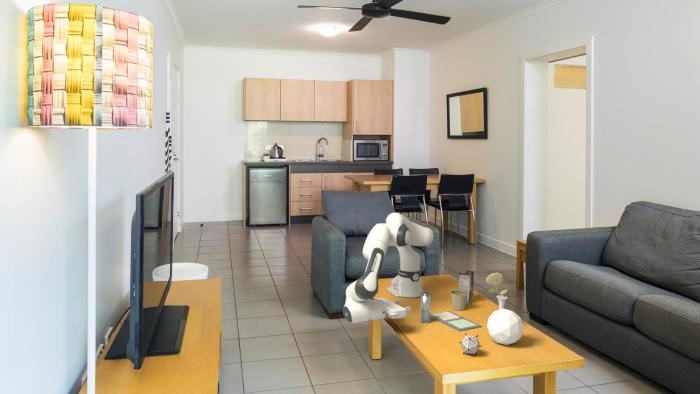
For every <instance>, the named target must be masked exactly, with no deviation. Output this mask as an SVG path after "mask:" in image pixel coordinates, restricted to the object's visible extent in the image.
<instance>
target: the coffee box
mask: <svg viewBox="0 0 700 394" xmlns="http://www.w3.org/2000/svg"><path fill="white" fill-rule="evenodd" d="M474 275H475V271H474V270H468V269H462V270H461V271H460V272H459V273H458V280H457V283H458V286H457V287H458V288H457V290H462V291H466V292H468V295H467V298H466V304H465V305H470V304H471V303H472V302H473V301H474V286H475V285H474V281H475V279H474V278H475V277H474Z"/></svg>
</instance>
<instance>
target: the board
mask: <svg viewBox="0 0 700 394" xmlns="http://www.w3.org/2000/svg"><path fill="white" fill-rule="evenodd" d="M430 318H432V319H434V320H435V321H438V322H440V323H442V324H443V325H446V326H448V327H450V328H452V329H454V330H455V331H458V332H463V331H469V330H473V329H479V328H482V327H483V325H482V324H479V323H477V322H474V321H472V320H470V319H468V318H465V317H464V316H462V315H459V314H458V313H455V312H452V311H450V310H445V311H441V312H440V311H439V312H435V313H431V316H430Z"/></svg>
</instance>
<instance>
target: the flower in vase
mask: <svg viewBox="0 0 700 394" xmlns="http://www.w3.org/2000/svg"><path fill="white" fill-rule="evenodd" d="M503 276H504V275H503V274H500V273H499V272H495V273H494V272H492V273H490V274H489V275H488V276H487V277H486V279H485V281H486V284H488V285H490V286H495V289H494V288H493V289H490V290H488V291H487V293H489V294H492V295H493V294H495V293H498V295H496V297H495V298H496V299H497V301H498V310H501V309H505V304H506V301H507V299H508V296H506V295H504V294H506V293H507V292H508V288H507V289H504V290H503V289H502V290H501V291H500V292H499V291H498V288H497V287H498V285H500V284H502V282H503V281H504V277H503Z"/></svg>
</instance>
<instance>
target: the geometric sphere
mask: <svg viewBox="0 0 700 394" xmlns="http://www.w3.org/2000/svg"><path fill="white" fill-rule="evenodd" d="M486 325H487V326H486V327H487V331H488V333H489V335H488V336H489V337H490V338H491V339H492V340H494V341H495V342H496V343H498V344H501V345H504V346H509V345H511V344H516V343H517V341H519V340H520V339H521V337H523V330H524V325H523V321H522V318H521V317H520V316H519V315H518V314H517V313H516V312H515V311H512V310H510V309H507V308H504V309H501V310H499V309H496V310H495V311H493V312H492V313H491V315H489V317H488V320H487V324H486Z"/></svg>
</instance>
